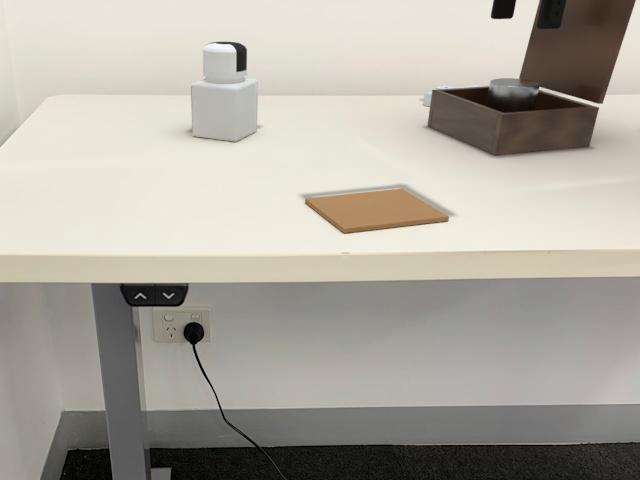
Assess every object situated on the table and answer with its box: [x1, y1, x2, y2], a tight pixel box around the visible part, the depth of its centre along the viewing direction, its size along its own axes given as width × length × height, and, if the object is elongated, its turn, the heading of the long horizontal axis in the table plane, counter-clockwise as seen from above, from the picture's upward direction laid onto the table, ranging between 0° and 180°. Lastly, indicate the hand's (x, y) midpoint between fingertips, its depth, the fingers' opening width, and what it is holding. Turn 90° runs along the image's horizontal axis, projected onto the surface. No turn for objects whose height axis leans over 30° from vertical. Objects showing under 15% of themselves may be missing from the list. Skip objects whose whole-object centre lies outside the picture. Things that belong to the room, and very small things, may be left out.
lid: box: [518, 0, 637, 105], centre depth 101 cm, size 16×17×5 cm
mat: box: [304, 188, 450, 234], centre depth 80 cm, size 12×10×1 cm
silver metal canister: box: [486, 77, 540, 113], centre depth 103 cm, size 6×6×7 cm
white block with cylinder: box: [190, 41, 259, 143], centre depth 105 cm, size 7×7×12 cm
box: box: [427, 85, 600, 157], centre depth 104 cm, size 15×17×6 cm
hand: (523, 23), depth 98 cm, fingers open, 9 cm apart
